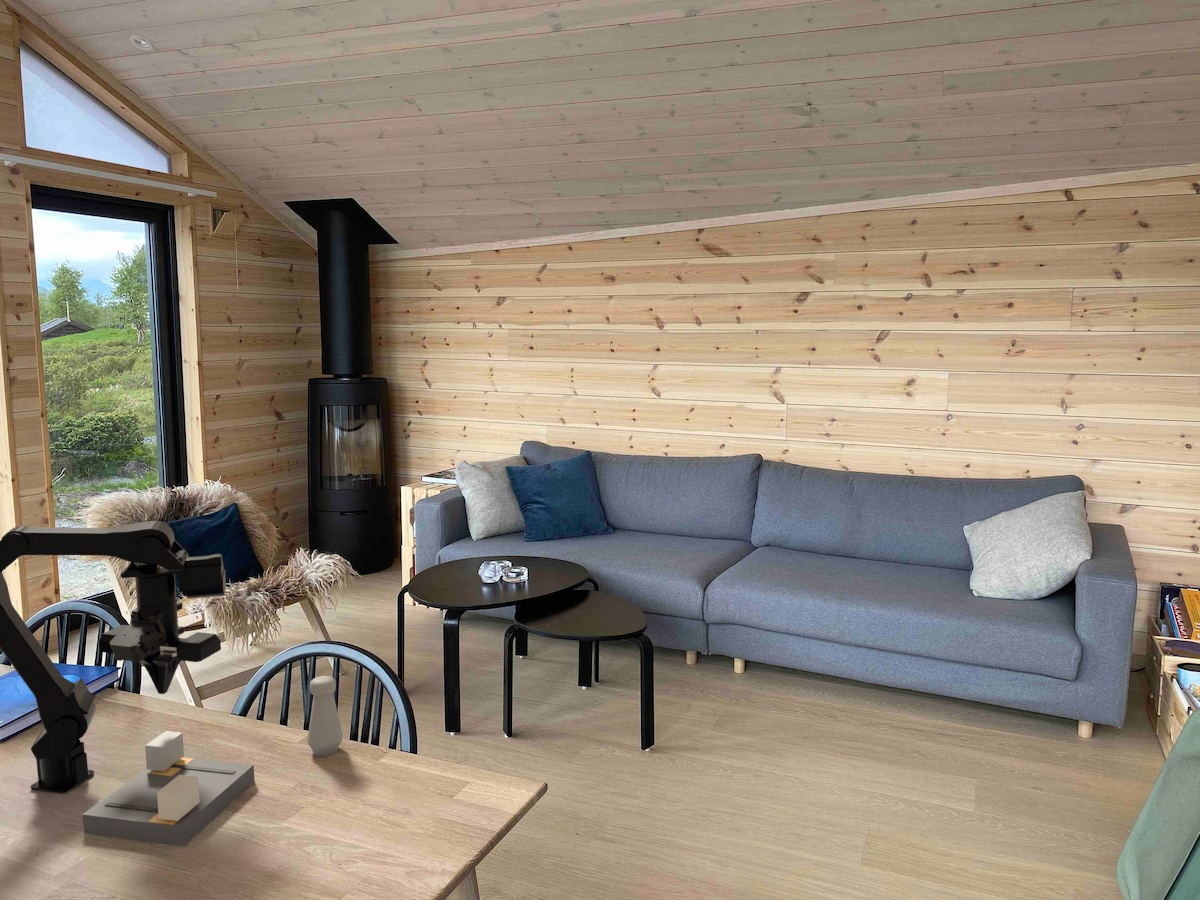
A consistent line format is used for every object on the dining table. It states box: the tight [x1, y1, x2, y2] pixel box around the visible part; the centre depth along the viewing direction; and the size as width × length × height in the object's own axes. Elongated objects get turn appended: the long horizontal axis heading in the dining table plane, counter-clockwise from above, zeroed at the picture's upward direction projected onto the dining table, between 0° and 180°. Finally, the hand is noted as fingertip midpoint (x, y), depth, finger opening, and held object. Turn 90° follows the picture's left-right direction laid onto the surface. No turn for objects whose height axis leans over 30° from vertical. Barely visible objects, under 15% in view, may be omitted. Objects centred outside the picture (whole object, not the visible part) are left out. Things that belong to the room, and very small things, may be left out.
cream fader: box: [157, 775, 200, 821], centre depth 132 cm, size 3×5×4 cm, turn 169°
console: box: [82, 756, 256, 847], centre depth 139 cm, size 16×18×3 cm
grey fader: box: [144, 730, 185, 771], centre depth 146 cm, size 3×5×4 cm, turn 169°
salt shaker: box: [307, 675, 343, 757], centre depth 156 cm, size 6×6×13 cm
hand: (162, 693), depth 150 cm, fingers closed
